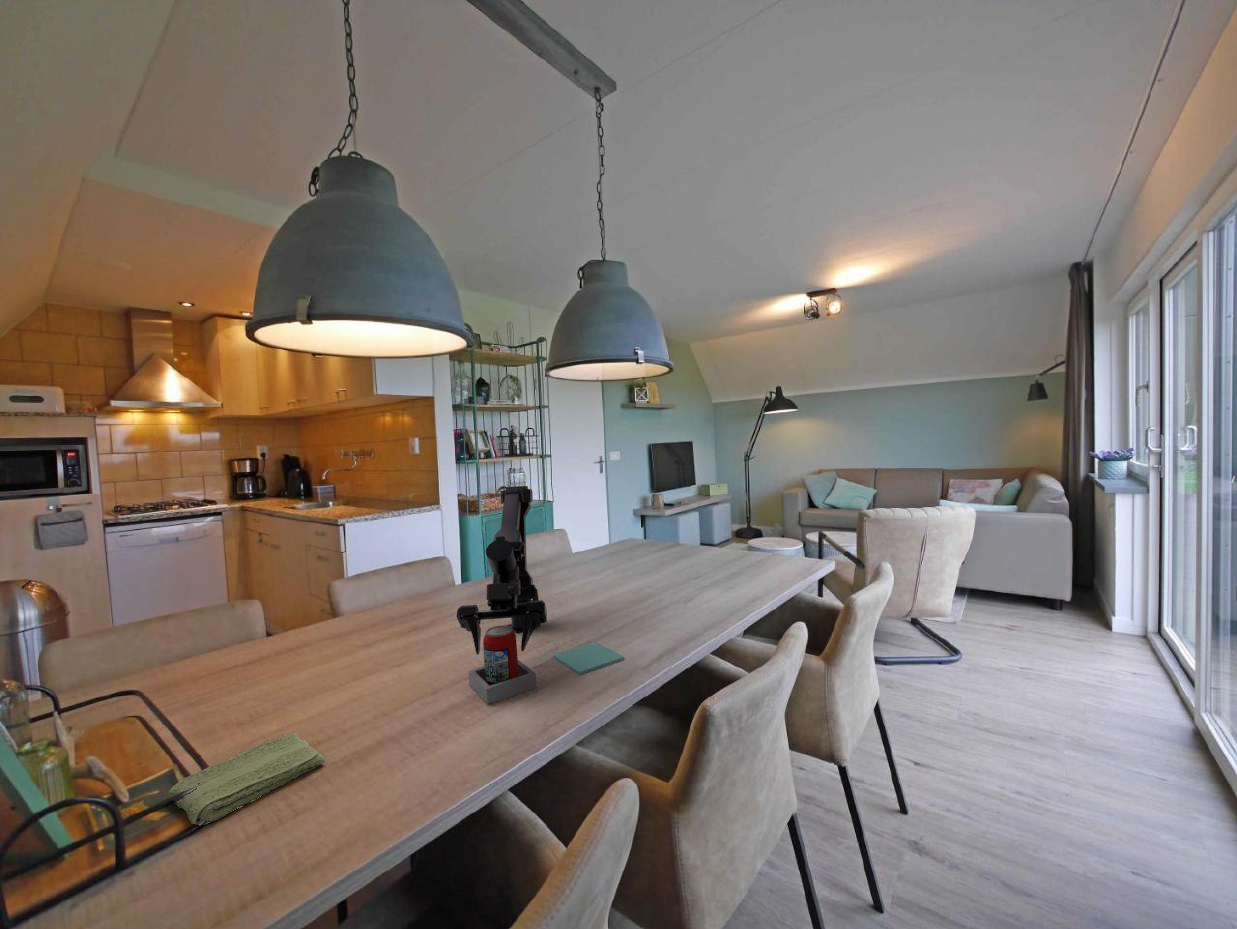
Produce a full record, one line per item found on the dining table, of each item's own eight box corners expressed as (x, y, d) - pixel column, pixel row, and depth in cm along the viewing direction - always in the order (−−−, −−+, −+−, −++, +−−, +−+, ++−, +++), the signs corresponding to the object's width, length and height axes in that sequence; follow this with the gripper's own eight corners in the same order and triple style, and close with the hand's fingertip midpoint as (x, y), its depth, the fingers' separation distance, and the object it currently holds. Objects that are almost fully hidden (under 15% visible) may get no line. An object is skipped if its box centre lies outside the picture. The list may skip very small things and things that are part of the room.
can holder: (469, 685, 110) (468, 671, 110) (515, 670, 116) (515, 657, 116) (487, 704, 101) (486, 689, 101) (536, 687, 107) (535, 673, 107)
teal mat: (553, 657, 122) (553, 655, 122) (596, 644, 129) (596, 641, 129) (579, 674, 112) (578, 672, 112) (624, 659, 119) (624, 656, 119)
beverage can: (479, 690, 107) (475, 633, 107) (500, 677, 113) (497, 622, 113) (504, 696, 104) (501, 637, 104) (525, 682, 110) (522, 626, 110)
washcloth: (330, 766, 85) (328, 746, 84) (196, 836, 70) (194, 813, 70) (292, 743, 92) (291, 725, 92) (164, 802, 77) (162, 781, 77)
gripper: (455, 569, 112) (445, 638, 101) (542, 563, 113) (541, 631, 103) (466, 595, 120) (457, 661, 110) (547, 589, 121) (546, 655, 111)
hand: (500, 652), depth 108 cm, fingers open, 9 cm apart
